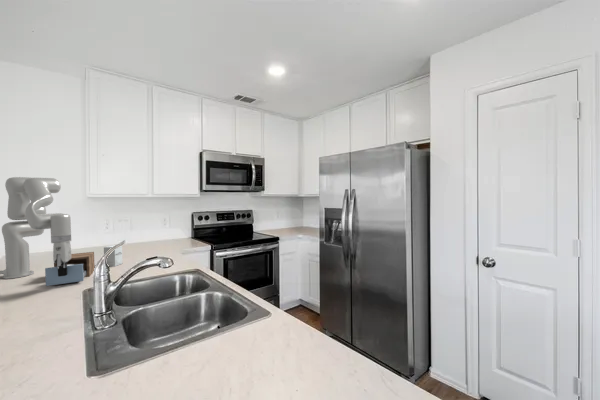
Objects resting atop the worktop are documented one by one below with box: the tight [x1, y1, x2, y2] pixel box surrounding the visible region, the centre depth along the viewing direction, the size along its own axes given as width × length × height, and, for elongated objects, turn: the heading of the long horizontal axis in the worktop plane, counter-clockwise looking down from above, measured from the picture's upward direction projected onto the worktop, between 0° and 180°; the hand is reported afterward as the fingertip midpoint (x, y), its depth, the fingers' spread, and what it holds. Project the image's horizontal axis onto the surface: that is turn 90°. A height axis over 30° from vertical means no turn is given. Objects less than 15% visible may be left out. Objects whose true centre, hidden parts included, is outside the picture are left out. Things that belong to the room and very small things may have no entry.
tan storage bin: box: [53, 251, 95, 278], centre depth 153 cm, size 14×15×12 cm
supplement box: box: [103, 244, 123, 268], centre depth 175 cm, size 7×7×13 cm
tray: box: [44, 264, 87, 287], centre depth 141 cm, size 14×15×9 cm
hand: (62, 275), depth 133 cm, fingers closed
